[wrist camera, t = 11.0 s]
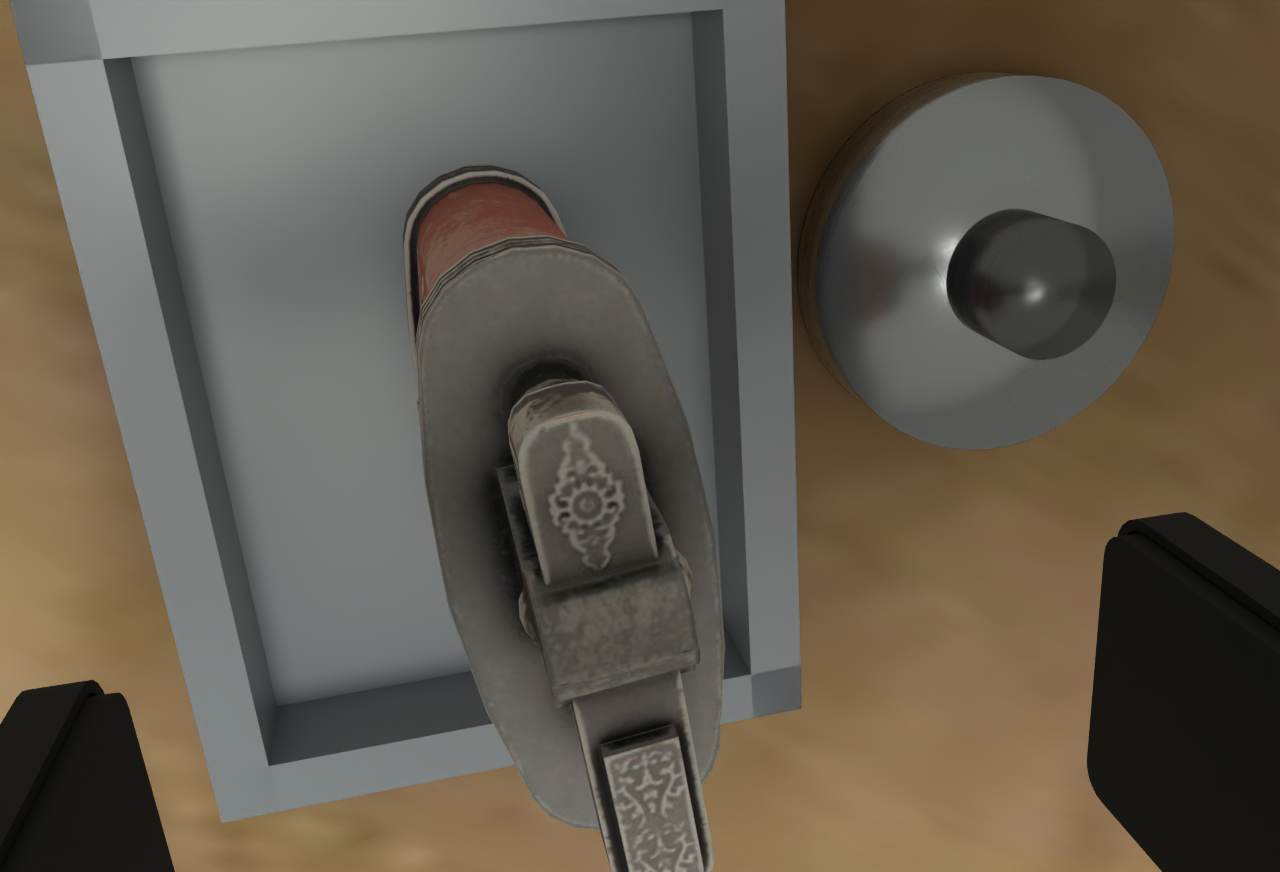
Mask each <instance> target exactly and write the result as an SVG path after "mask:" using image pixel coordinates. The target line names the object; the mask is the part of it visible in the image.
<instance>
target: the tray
mask: <svg viewBox="0 0 1280 872" xmlns="http://www.w3.org/2000/svg"><path fill="white" fill-rule="evenodd" d="M9 2H10V6H11V10H12V14H13V18H14V22H15V26H16V29H17V33H18V37H19V41H20V45H21V49H22V53H23V57H24V60H25V64H26V68H27V72H28V76H29V80H30V84H31V87H32V91H33V95H34V99H35V103H36V107H37V111H38V114H39V118H40V122H41V126H42V130H43V134H44V138H45V141H46V145H47V149H48V153H49V157H50V161H51V165H52V169H53V172H54V176H55V180H56V184H57V188H58V192H59V196H60V199H61V203H62V207H63V211H64V215H65V219H66V223H67V226H68V230H69V234H70V238H71V242H72V246H73V250H74V253H75V257H76V261H77V265H78V269H79V273H80V277H81V281H82V284H83V288H84V292H85V296H86V300H87V304H88V308H89V311H90V315H91V319H92V323H93V327H94V331H95V335H96V338H97V342H98V346H99V350H100V354H101V358H102V362H103V365H104V369H105V373H106V377H107V381H108V385H109V389H110V392H111V396H112V400H113V404H114V408H115V412H116V416H117V420H118V423H119V427H120V431H121V435H122V439H123V443H124V447H125V450H126V454H127V458H128V462H129V466H130V470H131V474H132V477H133V481H134V485H135V489H136V493H137V497H138V501H139V504H140V508H141V512H142V516H143V520H144V524H145V528H146V532H147V535H148V539H149V543H150V547H151V551H152V555H153V559H154V562H155V566H156V570H157V574H158V578H159V582H160V586H161V589H162V593H163V597H164V601H165V605H166V609H167V613H168V616H169V620H170V624H171V628H172V632H173V636H174V640H175V644H176V647H177V651H178V655H179V659H180V663H181V667H182V671H183V674H184V678H185V682H186V686H187V690H188V694H189V698H190V701H191V705H192V709H193V713H194V717H195V721H196V725H197V728H198V732H199V736H200V740H201V744H202V748H203V752H204V755H205V759H206V763H207V767H208V771H209V775H210V779H211V783H212V786H213V790H214V794H215V798H216V802H217V806H218V810H219V813H220V817H221V821H222V823H224V822H229V821H234V820H239V819H244V818H249V817H254V816H259V815H264V814H269V813H275V812H280V811H285V810H290V809H295V808H300V807H305V806H310V805H315V804H320V803H325V802H330V801H335V800H340V799H345V798H350V797H355V796H361V795H366V794H371V793H376V792H381V791H386V790H391V789H396V788H401V787H406V786H411V785H416V784H421V783H426V782H431V781H436V780H441V779H447V778H452V777H457V776H462V775H467V774H472V773H477V772H482V771H487V770H492V769H497V768H502V767H507V766H512V765H515V764H514V762H513V761H512V759H511V757H510V755H509V753H508V751H507V749H506V747H505V746H504V744H503V742H502V740H501V738H500V736H499V734H498V733H497V731H496V729H495V727H494V725H493V723H492V721H491V719H490V718H489V716H488V714H487V712H486V710H485V707H484V704H483V701H482V699H481V696H480V693H479V690H478V687H477V685H476V682H475V679H474V676H473V674H472V671H471V668H470V665H469V663H468V660H467V657H466V654H465V652H464V649H463V646H462V643H461V641H460V638H459V635H458V632H457V630H456V627H455V624H454V621H453V619H452V616H451V613H450V610H449V608H448V605H447V599H446V594H445V589H444V583H443V578H442V573H441V567H440V562H439V557H438V551H437V546H436V541H435V535H434V530H433V525H432V519H431V514H430V509H429V503H428V498H427V493H426V487H425V480H424V471H423V461H422V443H421V432H420V423H419V414H418V405H417V400H418V398H419V388H418V381H417V375H416V370H415V364H414V359H413V353H412V348H411V343H410V337H409V329H408V318H407V300H406V282H405V264H404V247H403V231H404V225H405V219H406V213H407V211H408V209H409V208H410V206H411V204H412V203H413V201H414V199H415V198H416V196H417V195H418V193H419V191H421V190H422V189H423V188H424V187H426V186H427V185H428V184H429V183H431V182H432V181H433V180H434V179H436V178H437V177H438V176H439V175H442V174H445V173H447V172H450V171H453V170H455V169H458V168H461V167H463V166H474V165H495V166H498V167H502V168H506V169H510V170H513V171H517V172H518V173H520V174H521V175H523V176H524V177H526V178H527V179H528V180H530V181H531V182H533V183H534V184H536V185H537V186H538V187H539V188H540V189H541V190H542V191H543V192H544V194H545V195H546V197H547V198H548V199H549V201H550V202H551V204H552V205H553V207H554V208H555V210H556V211H557V213H558V216H559V218H560V221H561V223H562V226H563V228H564V231H565V233H566V236H567V238H568V239H569V240H570V241H572V242H576V243H580V244H583V245H585V246H586V247H588V248H589V249H591V250H592V251H594V252H595V253H597V254H598V255H600V256H601V257H602V258H604V259H605V260H607V261H608V262H610V263H611V264H612V265H613V266H614V267H615V268H616V269H617V270H618V271H619V272H620V273H621V274H622V275H623V276H624V277H625V278H626V280H627V282H628V283H629V285H630V286H631V288H632V289H633V291H634V292H635V294H636V295H637V297H638V298H639V300H640V301H641V303H642V304H643V306H644V309H645V311H646V314H647V317H648V319H649V322H650V324H651V327H652V329H653V332H654V335H655V337H656V340H657V342H658V345H659V348H660V350H661V353H662V355H663V358H664V361H665V363H666V366H667V368H668V371H669V374H670V376H671V379H672V381H673V384H674V386H675V389H676V392H677V394H678V397H679V399H680V402H681V405H682V407H683V410H684V412H685V415H686V418H687V420H688V424H689V428H690V433H691V437H692V441H693V445H694V449H695V453H696V457H697V461H698V465H699V469H700V473H701V478H702V482H703V486H704V490H705V494H706V498H707V502H708V506H709V510H710V514H711V518H712V523H713V527H714V531H715V535H716V545H717V557H718V569H719V581H720V593H721V605H722V617H723V629H724V641H725V654H724V674H723V694H722V715H721V724H725V723H730V722H735V721H740V720H745V719H750V718H755V717H760V716H765V715H770V714H775V713H780V712H785V711H790V710H796V709H801V667H800V624H799V582H798V539H797V497H796V454H795V412H794V369H793V326H792V284H791V241H790V199H789V156H788V114H787V71H786V28H785V0H9Z"/></svg>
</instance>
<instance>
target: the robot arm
mask: <svg viewBox="0 0 1280 872" xmlns="http://www.w3.org/2000/svg"><path fill="white" fill-rule="evenodd" d="M1087 769H1088V774H1089V778H1090V781H1091V784H1092V787H1093V789H1094V791H1095V793H1096V795H1097V796H1098V798H1099V799H1100V800H1101V802H1102V803H1103V804H1104V805H1105V806H1106V807H1107V809H1108V810H1109V811H1110V812H1111V813H1112V814H1113V816H1114V817H1115V818H1116V819H1117V820H1118V821H1119V822H1120V824H1121V825H1122V826H1123V827H1124V828H1125V829H1126V831H1127V832H1128V833H1129V834H1130V835H1131V836H1132V837H1133V839H1134V840H1135V841H1136V842H1137V843H1138V844H1139V846H1140V847H1141V848H1142V849H1143V850H1144V851H1145V852H1146V854H1147V855H1148V856H1149V857H1150V858H1151V859H1152V861H1153V862H1154V863H1155V864H1156V865H1157V866H1158V867H1159V869H1160V870H1161V871H1162V872H1280V571H1279V570H1278V569H1276V568H1275V567H1273V566H1271V565H1270V564H1268V563H1267V562H1265V561H1264V560H1262V559H1261V558H1259V557H1257V556H1256V555H1254V554H1253V553H1251V552H1250V551H1248V550H1247V549H1245V548H1243V547H1242V546H1240V545H1239V544H1237V543H1236V542H1234V541H1233V540H1231V539H1229V538H1228V537H1226V536H1225V535H1223V534H1222V533H1220V532H1219V531H1217V530H1215V529H1214V528H1212V527H1211V526H1209V525H1208V524H1206V523H1205V522H1203V521H1201V520H1200V519H1198V518H1197V517H1195V516H1193V515H1191V514H1189V513H1186V512H1182V513H1174V514H1167V515H1161V516H1154V517H1148V518H1141V519H1135V520H1129V521H1127V522H1126V523H1125V524H1123V525H1122V527H1121V529H1120V531H1119V533H1118V537H1113V538H1112V539H1110V540H1109V541H1108V543H1107V545H1106V547H1105V552H1104V561H1103V573H1102V585H1101V597H1100V610H1099V622H1098V634H1097V646H1096V658H1095V670H1094V682H1093V694H1092V706H1091V718H1090V730H1089V742H1088V754H1087ZM0 872H175V871H174V867H173V864H172V860H171V856H170V853H169V849H168V846H167V842H166V839H165V835H164V831H163V828H162V824H161V821H160V817H159V814H158V810H157V806H156V803H155V799H154V796H153V792H152V789H151V785H150V781H149V778H148V774H147V771H146V767H145V764H144V760H143V756H142V753H141V749H140V746H139V742H138V739H137V735H136V731H135V728H134V724H133V721H132V717H131V714H130V710H129V707H128V704H127V702H126V699H125V698H124V696H123V695H122V694H120V693H119V692H118V693H112V694H104V691H103V690H102V688H101V687H100V685H99V684H98V683H97V682H95V681H94V680H89V681H82V682H76V683H69V684H63V685H56V686H50V687H43V688H37V689H30V690H26V691H22V692H21V693H20V694H19V696H18V697H17V698H16V699H15V701H14V703H13V704H12V706H11V708H10V709H9V711H8V713H7V714H6V716H5V718H4V719H3V721H2V723H1V724H0Z"/></svg>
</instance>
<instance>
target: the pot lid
mask: <svg viewBox="0 0 1280 872" xmlns="http://www.w3.org/2000/svg"><path fill="white" fill-rule="evenodd" d="M1174 233H1175V225H1174V212H1173V203H1172V198H1171V193H1170V188H1169V184H1168V180H1167V178H1166V175H1165V172H1164V169H1163V166H1162V163H1161V161H1160V159H1159V157H1158V155H1157V153H1156V151H1155V149H1154V147H1153V146H1152V144H1151V142H1150V140H1149V139H1148V138H1147V136H1146V135H1145V133H1144V132H1143V131H1142V129H1141V128H1140V127H1139V125H1138V124H1137V123H1136V122H1135V121H1134V120H1133V119H1132V118H1131V117H1130V116H1129V115H1128V114H1127V113H1126V112H1125V111H1124V110H1123V109H1122V108H1121V107H1119V106H1118V105H1116V104H1115V103H1114V102H1112V101H1111V100H1109V99H1108V98H1107V97H1105V96H1104V95H1102V94H1100V93H1098V92H1096V91H1094V90H1092V89H1090V88H1087V87H1085V86H1083V85H1080V84H1076V83H1073V82H1070V81H1066V80H1063V79H1057V78H1050V77H1042V76H1032V75H1021V74H1010V73H999V72H970V73H964V74H958V75H953V76H947V77H944V78H941V79H938V80H935V81H932V82H928V83H925V84H923V85H921V86H919V87H917V88H915V89H913V90H911V91H909V92H906V93H904V94H903V95H901V96H900V97H898V98H896V99H895V100H893V101H892V102H890V103H889V104H887V105H886V106H884V107H883V108H881V109H880V110H879V111H878V112H877V113H875V114H874V115H873V116H872V117H871V118H869V119H868V120H867V121H866V122H865V123H864V124H863V125H862V126H861V127H860V128H859V129H858V130H857V131H856V132H855V133H854V134H853V135H852V136H851V137H850V138H849V140H848V141H847V142H846V143H845V144H844V146H843V147H842V148H841V150H840V151H839V153H838V154H837V155H836V157H835V158H834V159H833V161H832V162H831V164H830V166H829V167H828V169H827V171H826V173H825V174H824V176H823V178H822V180H821V181H820V183H819V185H818V187H817V190H816V192H815V195H814V197H813V199H812V202H811V204H810V206H809V209H808V213H807V216H806V220H805V223H804V226H803V230H802V235H801V241H800V248H799V254H798V275H797V279H798V291H799V301H800V306H801V310H802V315H803V320H804V323H805V326H806V329H807V331H808V334H809V337H810V340H811V342H812V344H813V346H814V348H815V350H816V352H817V353H818V355H819V357H820V359H821V361H822V362H823V364H824V365H825V366H826V368H827V369H828V370H829V372H830V373H831V374H832V376H833V377H834V378H835V379H836V380H837V381H838V382H839V383H840V384H841V385H842V386H843V387H844V388H845V389H846V390H847V391H848V392H849V393H851V394H852V395H853V396H854V397H856V398H857V399H858V400H859V401H861V402H862V403H863V404H865V405H866V406H867V407H868V408H870V409H871V410H872V411H873V412H875V413H876V414H877V415H878V416H880V417H881V418H882V419H884V420H885V421H886V422H888V423H889V424H891V425H892V426H893V427H895V428H896V429H898V430H899V431H901V432H903V433H905V434H907V435H909V436H911V437H913V438H915V439H918V440H921V441H924V442H927V443H930V444H932V445H936V446H941V447H947V448H952V449H966V450H981V449H991V448H999V447H1004V446H1008V445H1013V444H1017V443H1021V442H1023V441H1026V440H1029V439H1032V438H1035V437H1037V436H1040V435H1042V434H1044V433H1046V432H1048V431H1050V430H1052V429H1054V428H1056V427H1058V426H1060V425H1062V424H1063V423H1065V422H1067V421H1068V420H1070V419H1071V418H1073V417H1074V416H1076V415H1077V414H1079V413H1080V412H1082V411H1083V410H1084V409H1085V408H1087V407H1088V406H1089V405H1090V404H1092V403H1093V402H1094V401H1095V400H1097V399H1098V398H1099V397H1100V396H1101V395H1102V394H1103V393H1104V392H1105V391H1106V390H1107V389H1108V388H1109V387H1110V386H1111V385H1112V384H1113V383H1114V382H1115V381H1116V380H1117V378H1118V377H1119V376H1120V375H1121V373H1122V372H1123V371H1124V370H1125V369H1126V367H1127V366H1128V365H1129V364H1130V362H1131V361H1132V359H1133V358H1134V356H1135V355H1136V353H1137V352H1138V350H1139V349H1140V347H1141V346H1142V344H1143V343H1144V341H1145V339H1146V337H1147V335H1148V333H1149V331H1150V329H1151V327H1152V325H1153V323H1154V321H1155V319H1156V316H1157V314H1158V311H1159V309H1160V306H1161V304H1162V301H1163V299H1164V295H1165V291H1166V288H1167V284H1168V281H1169V277H1170V272H1171V265H1172V259H1173V253H1174Z"/></svg>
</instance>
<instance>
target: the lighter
mask: <svg viewBox="0 0 1280 872" xmlns="http://www.w3.org/2000/svg"><path fill="white" fill-rule="evenodd" d="M403 247H404V264H405V282H406V300H407V318H408V329H409V337H410V343H411V348H412V353H413V359H414V364H415V370H416V375H417V381H418V388H419V398H418V400H417V405H418V414H419V423H420V432H421V443H422V461H423V471H424V480H425V487H426V493H427V498H428V503H429V509H430V514H431V519H432V525H433V530H434V535H435V541H436V546H437V551H438V557H439V562H440V567H441V573H442V578H443V583H444V589H445V594H446V599H447V605H448V608H449V610H450V613H451V616H452V619H453V621H454V624H455V627H456V630H457V632H458V635H459V638H460V641H461V643H462V646H463V649H464V652H465V654H466V657H467V660H468V663H469V665H470V668H471V671H472V674H473V676H474V679H475V682H476V685H477V687H478V690H479V693H480V696H481V699H482V701H483V704H484V707H485V710H486V712H487V714H488V716H489V718H490V719H491V721H492V723H493V725H494V727H495V729H496V731H497V733H498V734H499V736H500V738H501V740H502V742H503V744H504V746H505V747H506V749H507V751H508V753H509V755H510V757H511V759H512V761H513V762H514V764H515V766H516V768H517V770H518V772H519V774H520V776H521V777H522V779H523V781H524V783H525V785H526V787H527V789H528V790H529V792H530V794H531V796H532V798H533V799H534V801H535V802H536V803H537V804H538V805H539V806H540V807H541V808H542V809H543V810H544V811H545V812H546V814H547V815H548V816H549V817H551V818H553V819H556V820H558V821H560V822H562V823H565V824H567V825H569V826H571V827H574V828H579V829H589V830H599V831H600V832H601V835H602V839H603V842H604V846H605V850H606V853H607V857H608V861H609V864H610V868H611V871H612V872H711V870H712V868H713V846H712V841H711V835H710V830H709V825H708V819H707V814H706V808H705V803H704V798H703V792H702V787H701V785H702V784H703V782H704V781H705V780H706V778H707V777H708V776H709V774H710V773H711V772H712V770H713V768H714V764H715V761H716V757H717V754H718V750H719V747H720V735H721V715H722V694H723V674H724V654H725V641H724V629H723V617H722V605H721V593H720V581H719V569H718V557H717V545H716V535H715V531H714V527H713V523H712V518H711V514H710V510H709V506H708V502H707V498H706V494H705V490H704V486H703V482H702V478H701V473H700V469H699V465H698V461H697V457H696V453H695V449H694V445H693V441H692V437H691V433H690V428H689V424H688V420H687V418H686V415H685V412H684V410H683V407H682V405H681V402H680V399H679V397H678V394H677V392H676V389H675V386H674V384H673V381H672V379H671V376H670V374H669V371H668V368H667V366H666V363H665V361H664V358H663V355H662V353H661V350H660V348H659V345H658V342H657V340H656V337H655V335H654V332H653V329H652V327H651V324H650V322H649V319H648V317H647V314H646V311H645V309H644V306H643V304H642V303H641V301H640V300H639V298H638V297H637V295H636V294H635V292H634V291H633V289H632V288H631V286H630V285H629V283H628V282H627V280H626V278H625V277H624V276H623V275H622V274H621V273H620V272H619V271H618V270H617V269H616V268H615V267H614V266H613V265H612V264H611V263H610V262H608V261H607V260H605V259H604V258H602V257H601V256H600V255H598V254H597V253H595V252H594V251H592V250H591V249H589V248H588V247H586V246H585V245H583V244H580V243H576V242H572V241H570V240H569V239H568V238H567V236H566V233H565V231H564V228H563V226H562V223H561V221H560V218H559V216H558V213H557V211H556V210H555V208H554V207H553V205H552V204H551V202H550V201H549V199H548V198H547V197H546V195H545V194H544V192H543V191H542V190H541V189H540V188H539V187H538V186H537V185H536V184H534V183H533V182H531V181H530V180H528V179H527V178H526V177H524V176H523V175H521V174H520V173H518V172H517V171H513V170H510V169H506V168H502V167H498V166H495V165H474V166H463V167H461V168H458V169H455V170H453V171H450V172H447V173H445V174H442V175H439V176H438V177H437V178H436V179H434V180H433V181H432V182H431V183H429V184H428V185H427V186H426V187H424V188H423V189H422V190H421V191H419V193H418V195H417V196H416V198H415V199H414V201H413V203H412V204H411V206H410V208H409V209H408V211H407V213H406V219H405V225H404V231H403Z"/></svg>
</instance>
